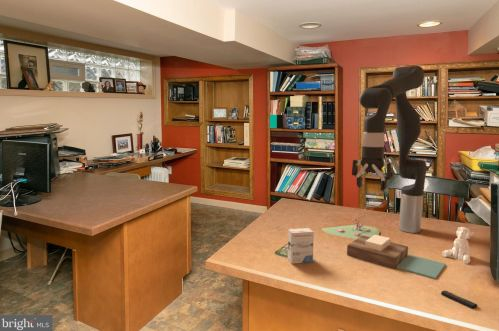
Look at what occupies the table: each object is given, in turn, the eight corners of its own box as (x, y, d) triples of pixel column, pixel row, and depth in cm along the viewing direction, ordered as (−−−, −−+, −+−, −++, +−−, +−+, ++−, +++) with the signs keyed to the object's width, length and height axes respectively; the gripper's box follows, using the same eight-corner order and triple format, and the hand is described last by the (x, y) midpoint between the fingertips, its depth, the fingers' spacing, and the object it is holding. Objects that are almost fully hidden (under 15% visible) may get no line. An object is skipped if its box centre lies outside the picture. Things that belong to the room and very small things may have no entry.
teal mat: (408, 255, 132) (408, 254, 132) (445, 265, 124) (445, 263, 124) (396, 268, 122) (396, 266, 122) (435, 279, 114) (435, 277, 113)
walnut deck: (362, 244, 143) (362, 235, 143) (407, 256, 132) (408, 246, 131) (346, 254, 133) (347, 245, 132) (394, 268, 121) (395, 258, 121)
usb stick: (478, 308, 98) (478, 303, 97) (473, 311, 96) (474, 306, 96) (445, 293, 106) (445, 288, 105) (440, 295, 104) (440, 291, 104)
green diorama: (328, 241, 149) (329, 221, 147) (319, 225, 169) (319, 207, 168) (386, 241, 149) (387, 221, 147) (369, 225, 169) (370, 207, 168)
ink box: (308, 256, 132) (309, 227, 130) (313, 262, 127) (314, 231, 125) (287, 258, 130) (287, 228, 128) (290, 263, 125) (291, 233, 124)
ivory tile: (374, 240, 137) (374, 234, 137) (389, 244, 133) (390, 238, 133) (365, 247, 130) (365, 240, 130) (380, 251, 126) (381, 244, 126)
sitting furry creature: (440, 256, 132) (443, 226, 130) (451, 250, 137) (453, 221, 135) (467, 264, 124) (471, 233, 122) (477, 258, 129) (481, 228, 127)
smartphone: (273, 252, 134) (293, 240, 146) (273, 255, 135) (292, 242, 146) (289, 257, 130) (308, 244, 142) (289, 260, 130) (308, 246, 142)
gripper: (397, 145, 122) (394, 189, 124) (358, 143, 131) (356, 184, 134) (389, 147, 116) (387, 193, 119) (349, 144, 125) (348, 188, 128)
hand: (371, 188), depth 126 cm, fingers open, 8 cm apart
